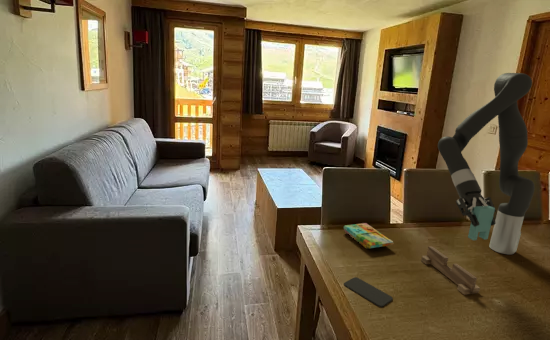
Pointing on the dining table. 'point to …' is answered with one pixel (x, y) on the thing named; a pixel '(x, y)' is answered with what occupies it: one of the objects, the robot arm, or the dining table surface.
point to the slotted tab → (482, 222)
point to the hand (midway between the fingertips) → (484, 225)
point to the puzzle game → (367, 235)
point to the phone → (368, 292)
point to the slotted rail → (452, 271)
